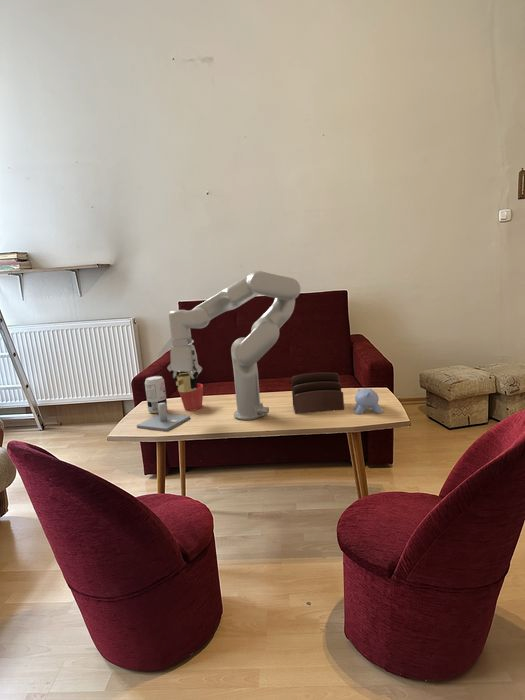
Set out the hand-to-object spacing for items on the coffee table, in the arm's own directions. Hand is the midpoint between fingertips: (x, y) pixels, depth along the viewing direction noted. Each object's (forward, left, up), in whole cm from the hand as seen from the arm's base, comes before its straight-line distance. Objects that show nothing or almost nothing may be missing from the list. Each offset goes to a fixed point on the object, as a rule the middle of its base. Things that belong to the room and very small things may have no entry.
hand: (186, 387), depth 176 cm
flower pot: (+11, -17, -15) cm, 25 cm away
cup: (0, +1, -1) cm, 1 cm away
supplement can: (+24, -9, -15) cm, 30 cm away
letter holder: (-43, -29, -15) cm, 54 cm away
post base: (+11, +3, -15) cm, 19 cm away
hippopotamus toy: (-63, -32, -15) cm, 72 cm away
